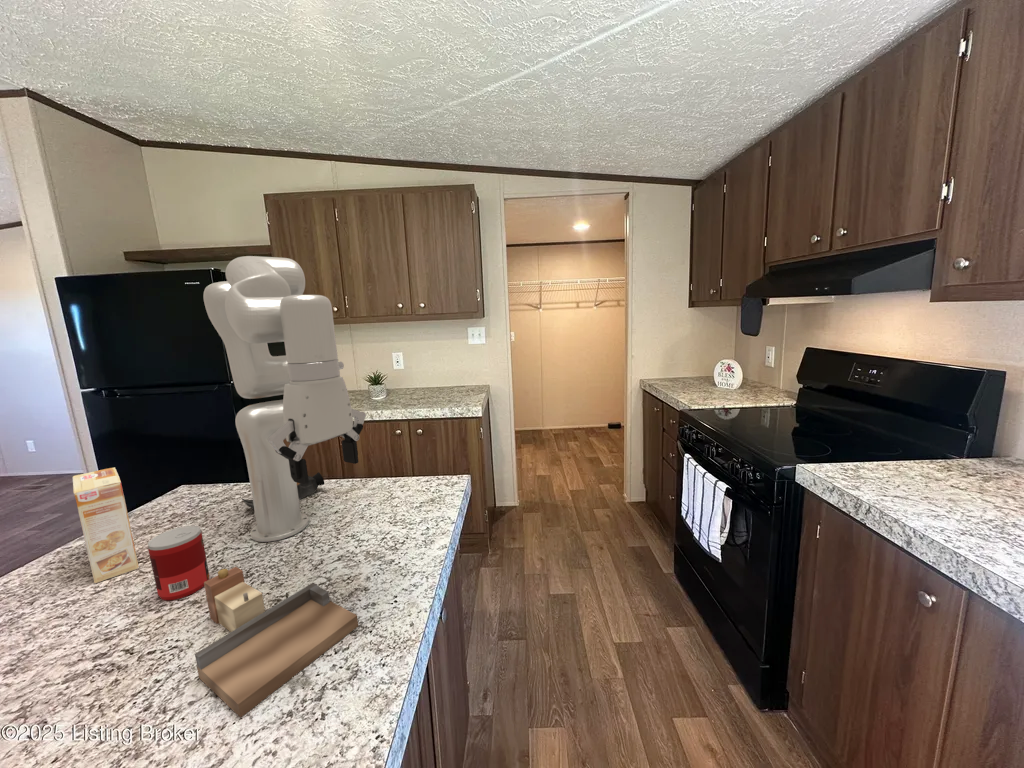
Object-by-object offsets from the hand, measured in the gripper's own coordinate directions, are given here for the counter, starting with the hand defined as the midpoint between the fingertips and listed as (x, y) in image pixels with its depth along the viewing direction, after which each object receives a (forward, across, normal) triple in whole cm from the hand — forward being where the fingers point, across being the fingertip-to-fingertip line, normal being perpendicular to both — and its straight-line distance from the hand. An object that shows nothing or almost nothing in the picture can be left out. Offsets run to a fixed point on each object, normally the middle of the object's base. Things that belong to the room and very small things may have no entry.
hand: (327, 471), depth 70 cm
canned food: (+24, +12, -32) cm, 42 cm away
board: (+24, +12, +1) cm, 27 cm away
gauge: (+24, +11, -13) cm, 30 cm away
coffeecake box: (+24, +15, -57) cm, 64 cm away
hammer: (+24, -21, -52) cm, 61 cm away
